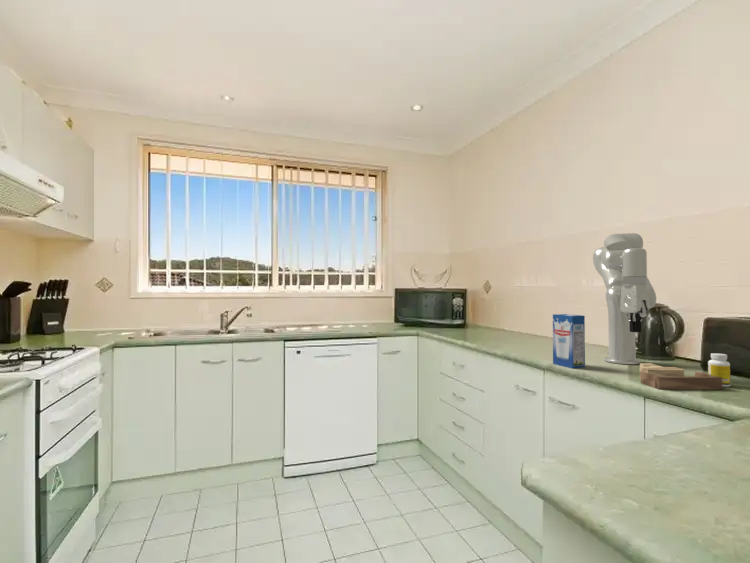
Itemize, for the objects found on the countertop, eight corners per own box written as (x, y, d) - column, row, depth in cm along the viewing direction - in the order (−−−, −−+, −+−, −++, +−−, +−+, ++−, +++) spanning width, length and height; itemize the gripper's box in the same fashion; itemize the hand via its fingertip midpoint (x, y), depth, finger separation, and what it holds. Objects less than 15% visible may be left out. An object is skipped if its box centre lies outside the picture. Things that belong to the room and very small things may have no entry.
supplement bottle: (735, 387, 124) (734, 355, 124) (714, 386, 125) (714, 355, 125) (723, 383, 129) (722, 353, 129) (704, 382, 130) (703, 352, 131)
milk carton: (585, 367, 156) (584, 315, 156) (572, 368, 153) (572, 315, 154) (564, 362, 165) (564, 314, 165) (552, 363, 163) (552, 314, 163)
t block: (628, 374, 142) (628, 363, 142) (662, 374, 142) (662, 363, 142) (647, 381, 132) (647, 369, 132) (684, 381, 132) (684, 369, 132)
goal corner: (640, 382, 130) (640, 371, 130) (700, 382, 130) (700, 372, 130) (658, 389, 122) (658, 377, 122) (722, 389, 122) (722, 377, 122)
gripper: (612, 282, 156) (613, 330, 155) (637, 281, 141) (638, 334, 140) (632, 282, 156) (632, 330, 155) (659, 281, 141) (660, 334, 140)
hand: (635, 331), depth 147 cm, fingers closed
